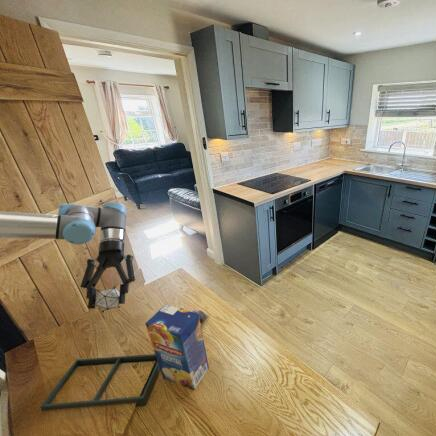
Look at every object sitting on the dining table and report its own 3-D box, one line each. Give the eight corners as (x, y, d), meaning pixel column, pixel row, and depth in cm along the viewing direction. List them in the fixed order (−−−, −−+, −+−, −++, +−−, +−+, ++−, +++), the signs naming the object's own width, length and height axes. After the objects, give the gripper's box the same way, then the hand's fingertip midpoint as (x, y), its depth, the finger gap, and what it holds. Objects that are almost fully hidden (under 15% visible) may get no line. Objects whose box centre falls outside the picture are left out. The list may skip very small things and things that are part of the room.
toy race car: (178, 310, 101) (175, 298, 98) (207, 320, 96) (205, 308, 94) (159, 327, 93) (156, 315, 90) (190, 340, 88) (187, 327, 85)
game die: (116, 318, 86) (107, 313, 78) (92, 310, 85) (81, 304, 77) (132, 294, 91) (125, 287, 83) (109, 286, 90) (100, 279, 82)
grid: (45, 414, 66) (39, 407, 64) (80, 366, 78) (76, 359, 77) (145, 405, 68) (143, 398, 67) (164, 360, 81) (162, 353, 79)
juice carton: (209, 367, 79) (198, 314, 69) (194, 390, 72) (180, 334, 62) (179, 357, 82) (165, 304, 72) (162, 378, 75) (144, 323, 66)
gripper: (147, 242, 95) (145, 301, 87) (84, 248, 90) (77, 311, 82) (140, 236, 88) (137, 299, 80) (72, 243, 83) (62, 311, 75)
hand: (106, 305), depth 81 cm, fingers closed on game die, 8 cm apart
